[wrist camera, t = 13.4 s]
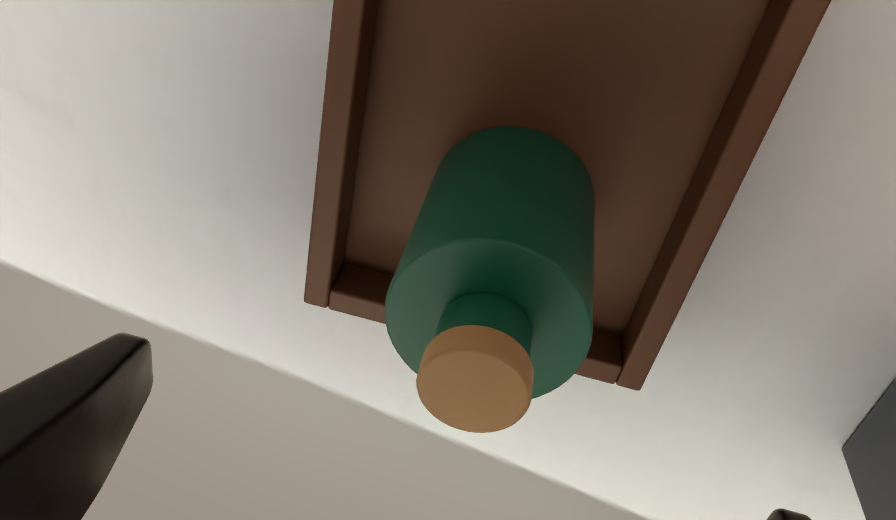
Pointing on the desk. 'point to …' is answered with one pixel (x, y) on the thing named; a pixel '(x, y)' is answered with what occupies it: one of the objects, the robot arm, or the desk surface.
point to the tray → (553, 135)
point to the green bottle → (496, 278)
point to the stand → (875, 459)
